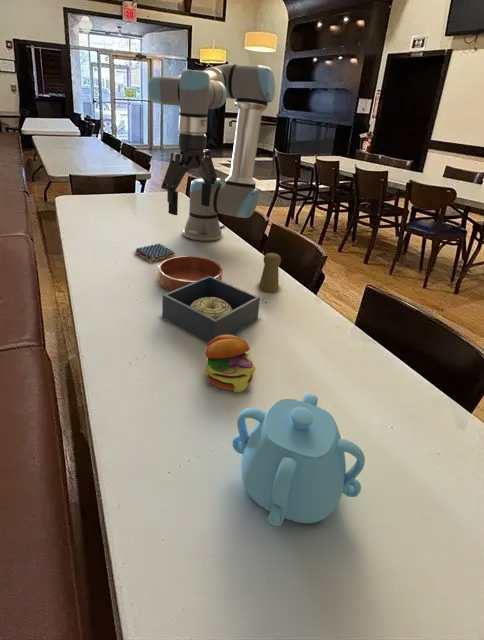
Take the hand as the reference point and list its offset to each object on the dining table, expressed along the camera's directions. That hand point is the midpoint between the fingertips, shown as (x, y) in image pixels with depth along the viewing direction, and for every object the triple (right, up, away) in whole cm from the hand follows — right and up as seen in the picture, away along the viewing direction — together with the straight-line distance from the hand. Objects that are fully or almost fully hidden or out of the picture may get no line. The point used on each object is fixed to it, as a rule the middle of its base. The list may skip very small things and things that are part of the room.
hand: (189, 209), depth 119 cm
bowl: (-1, -21, +8) cm, 23 cm away
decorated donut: (+6, -29, -12) cm, 32 cm away
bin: (+6, -30, -12) cm, 32 cm away
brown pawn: (+24, -23, +8) cm, 34 cm away
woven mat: (-14, -13, +26) cm, 32 cm away
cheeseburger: (+11, -39, -33) cm, 52 cm away
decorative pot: (+20, -48, -56) cm, 76 cm away
